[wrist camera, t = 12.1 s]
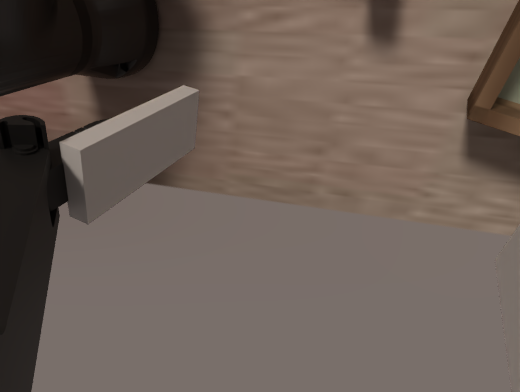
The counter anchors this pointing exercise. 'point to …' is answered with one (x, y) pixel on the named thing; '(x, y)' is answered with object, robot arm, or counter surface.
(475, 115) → the walls
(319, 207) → the counter surface
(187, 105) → the robot arm
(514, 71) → the mat
